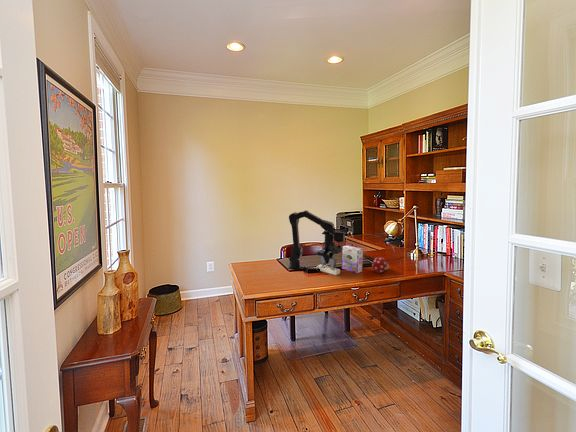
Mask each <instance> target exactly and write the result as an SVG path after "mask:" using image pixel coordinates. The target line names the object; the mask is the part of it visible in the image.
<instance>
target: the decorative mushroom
mask: <svg viewBox="0 0 576 432" xmlns="http://www.w3.org/2000/svg"><path fill="white" fill-rule="evenodd" d="M371 267H372V270H373V271H374V272H375V273H378V274H382V273H384V272H385V271H388V270H389V269H390V265H389V264H388V263H387V260H386V259H385V258H384V257H383V256H382V257H381V256H378V257H376V258H374V259H373V261H372V263H371Z"/></svg>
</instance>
